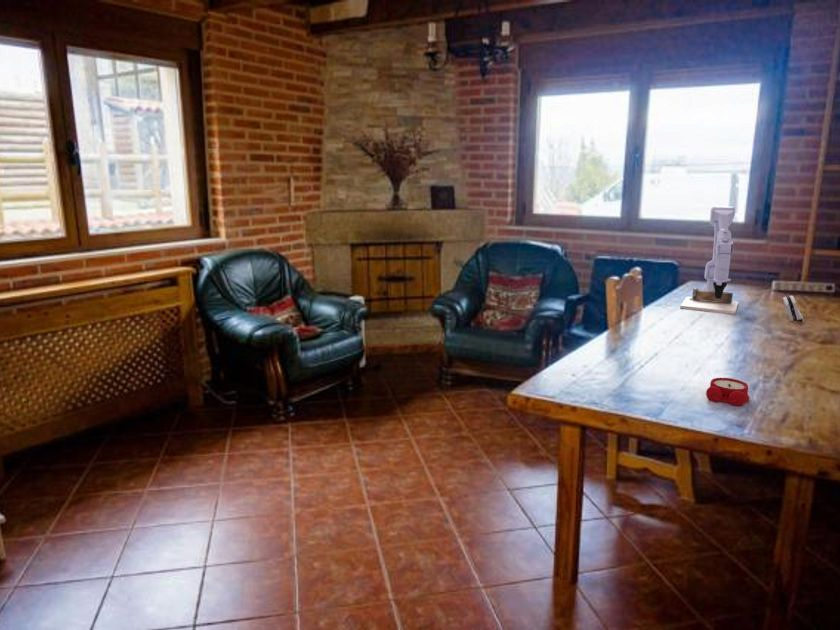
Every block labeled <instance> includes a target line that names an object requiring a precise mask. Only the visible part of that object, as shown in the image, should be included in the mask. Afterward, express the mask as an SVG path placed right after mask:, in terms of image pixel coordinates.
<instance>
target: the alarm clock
mask: <svg viewBox="0 0 840 630" xmlns="http://www.w3.org/2000/svg"><path fill="white" fill-rule="evenodd" d="M748 392H749V385H748V383H747V382H745V381H743V380H739V379H735V378H729V377H716V378H712V379H711V381H710V382H709V387H708V388H707V389H706V392H705V396H706V398H707V399H708V400H709V402H710V401H711V402H713V403H719V402H722V403H726V404H730V405H732V406H735V407H741V406H743V405H745V404H746V403H748V402H749V401H750V396H749V393H748Z"/></svg>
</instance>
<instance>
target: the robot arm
mask: <svg viewBox="0 0 840 630" xmlns="http://www.w3.org/2000/svg"><path fill="white" fill-rule="evenodd" d="M710 208H711V209H710V218H709V219H710V220H709V222H710V225H711V226H713V228H714V236H713V248H712V250H713V251H712V260H710V261H708V262H707V263H706V264H705V269H704V279H705V280H706V288H705V291H715V297H716V298H717V299H721V297H722V294H723V292H725V291H724V290H725V288H726V287H727V284H728V282H731V280H732V279H731V278H729V274H730V273H729V271H730V265H731V264H730V263H731V258H732V257H731V256H732V255H733V252H734V242H733V240H732V232H731V231H730V230H729V227H730V226H731V225H732V223H733V221H734V219H735V213H736V208H735V206H723V205H722V206H720V205H719V206H717V205H713V206H711V207H710Z"/></svg>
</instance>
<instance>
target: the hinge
mask: <svg viewBox="0 0 840 630" xmlns="http://www.w3.org/2000/svg"><path fill="white" fill-rule="evenodd" d="M782 301H783V305H784V310H785V312H786V315H787V317H788V319H789V321H790V320H791V321H790V322H794V320H796V321H798V320H801V321H802V323H804V322H805V319H804V317H803V315H802V313H801V311H800V310H799V309H798V306H797V305H798V304H797V302H796V299H795V297H794V295H789V296H783V297H782Z"/></svg>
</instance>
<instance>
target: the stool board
mask: <svg viewBox="0 0 840 630" xmlns="http://www.w3.org/2000/svg"><path fill="white" fill-rule="evenodd" d="M724 292H725V293H729V292H728V291H727V292H726V291H724ZM738 306H739V301H735V300H732V302H731V303H726V302H717V301H708V300H698V299H692V296H686V297H685V298H684V300H683V301H682V303H681V304H680V307H679V308H680V309H682V308H685V310H692V309H693V310H694V311H701V310H702V311H703V312H711V313H720V314H721V313H722V314H728V313H730V314H729V315H736V312H737V309H738ZM693 310H692V311H693Z"/></svg>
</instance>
